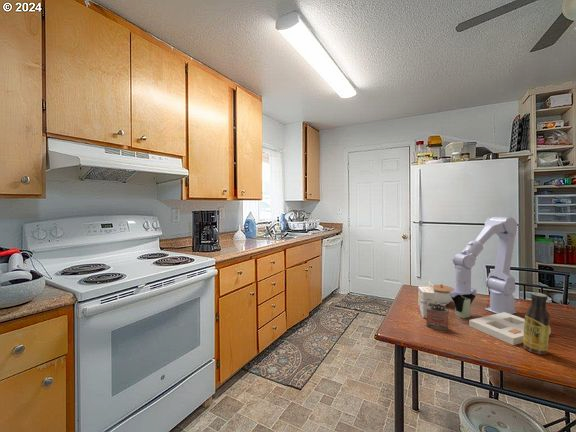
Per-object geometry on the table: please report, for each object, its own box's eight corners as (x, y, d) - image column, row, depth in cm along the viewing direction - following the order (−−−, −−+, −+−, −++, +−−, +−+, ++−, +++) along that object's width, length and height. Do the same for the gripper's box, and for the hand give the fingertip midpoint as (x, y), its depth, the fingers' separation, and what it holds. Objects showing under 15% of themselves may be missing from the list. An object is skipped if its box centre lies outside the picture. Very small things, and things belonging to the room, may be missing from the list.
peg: (461, 313, 122) (461, 296, 122) (470, 316, 118) (470, 299, 118) (455, 314, 121) (455, 297, 120) (463, 318, 117) (464, 300, 116)
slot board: (504, 317, 117) (504, 311, 117) (550, 334, 102) (550, 327, 102) (469, 326, 109) (469, 319, 109) (513, 345, 94) (513, 337, 94)
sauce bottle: (518, 346, 94) (519, 290, 93) (534, 345, 94) (536, 290, 93) (536, 357, 87) (538, 297, 86) (554, 355, 88) (556, 296, 87)
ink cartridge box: (417, 310, 126) (417, 279, 125) (428, 311, 125) (429, 280, 124) (422, 318, 117) (423, 285, 117) (435, 319, 116) (435, 285, 116)
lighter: (447, 326, 109) (447, 302, 109) (449, 330, 106) (449, 305, 105) (425, 324, 112) (425, 300, 111) (426, 327, 108) (427, 303, 108)
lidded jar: (458, 306, 130) (458, 287, 129) (436, 306, 130) (436, 287, 129) (445, 298, 140) (446, 281, 140) (425, 299, 141) (425, 281, 140)
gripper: (466, 276, 125) (465, 305, 125) (443, 279, 120) (442, 309, 120) (481, 280, 118) (480, 310, 119) (457, 284, 113) (457, 315, 114)
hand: (462, 310), depth 119 cm, fingers closed on peg, 4 cm apart
